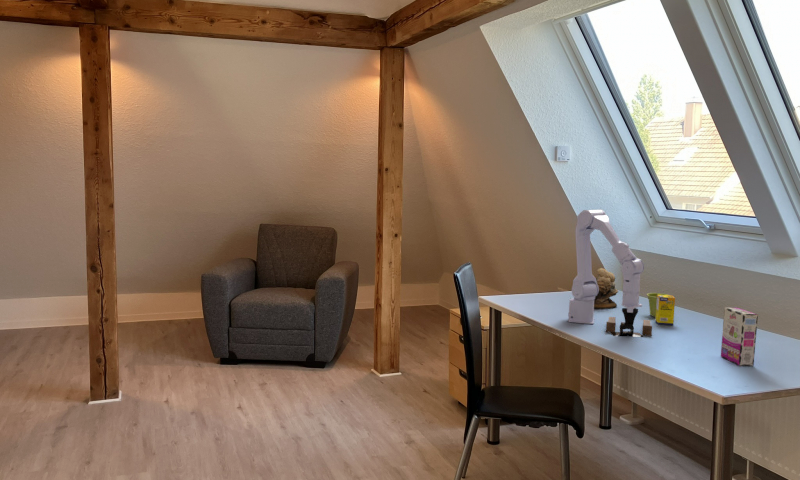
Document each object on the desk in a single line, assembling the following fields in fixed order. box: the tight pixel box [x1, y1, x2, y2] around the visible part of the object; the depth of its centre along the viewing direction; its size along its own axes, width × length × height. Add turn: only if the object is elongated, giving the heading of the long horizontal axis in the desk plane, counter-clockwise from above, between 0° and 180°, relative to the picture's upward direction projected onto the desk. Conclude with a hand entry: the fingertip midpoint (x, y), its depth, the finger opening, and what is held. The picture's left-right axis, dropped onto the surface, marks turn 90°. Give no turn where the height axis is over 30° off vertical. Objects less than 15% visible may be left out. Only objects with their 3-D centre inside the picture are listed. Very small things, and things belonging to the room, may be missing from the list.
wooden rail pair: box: [605, 316, 653, 337], centre depth 258 cm, size 16×14×4 cm
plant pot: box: [646, 292, 669, 318], centre depth 283 cm, size 9×9×9 cm
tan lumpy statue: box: [592, 267, 619, 310], centre depth 300 cm, size 18×12×17 cm, turn 107°
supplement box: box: [654, 294, 676, 326], centre depth 269 cm, size 6×6×11 cm
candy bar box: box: [720, 307, 759, 367], centre depth 217 cm, size 11×5×16 cm, turn 5°
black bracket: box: [609, 321, 645, 338], centre depth 250 cm, size 12×7×5 cm, turn 89°
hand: (629, 328), depth 253 cm, fingers closed
